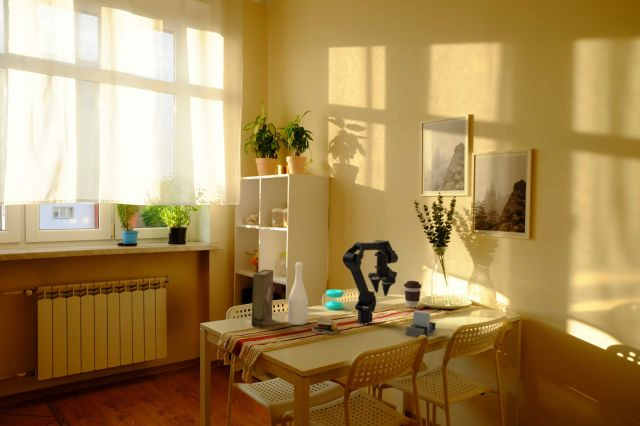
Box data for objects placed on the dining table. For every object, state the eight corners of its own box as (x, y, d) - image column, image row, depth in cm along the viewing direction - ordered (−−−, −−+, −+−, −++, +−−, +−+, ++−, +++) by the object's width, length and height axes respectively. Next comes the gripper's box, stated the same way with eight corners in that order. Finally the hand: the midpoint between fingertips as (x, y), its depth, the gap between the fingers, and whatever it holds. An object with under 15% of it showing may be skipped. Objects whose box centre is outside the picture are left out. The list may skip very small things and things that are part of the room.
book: (262, 318, 259) (263, 269, 259) (272, 319, 258) (274, 270, 257) (251, 326, 243) (253, 274, 242) (262, 327, 242) (264, 274, 241)
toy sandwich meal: (308, 333, 234) (308, 323, 234) (315, 326, 247) (316, 317, 247) (335, 336, 231) (335, 326, 231) (341, 329, 244) (341, 319, 244)
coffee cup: (415, 309, 290) (416, 283, 290) (400, 307, 296) (401, 281, 296) (423, 307, 298) (424, 281, 298) (408, 304, 304) (409, 279, 304)
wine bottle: (304, 326, 247) (306, 264, 246) (285, 324, 248) (287, 263, 248) (308, 321, 256) (310, 262, 255) (290, 320, 258) (292, 261, 257)
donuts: (345, 289, 291) (341, 292, 282) (345, 307, 292) (340, 310, 282) (328, 288, 294) (324, 291, 285) (328, 305, 294) (323, 309, 285)
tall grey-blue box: (412, 330, 241) (413, 311, 240) (415, 329, 243) (416, 310, 243) (427, 332, 237) (427, 313, 237) (429, 331, 240) (430, 312, 239)
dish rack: (405, 335, 236) (405, 326, 236) (418, 327, 249) (418, 319, 249) (423, 338, 231) (424, 329, 231) (436, 331, 245) (436, 322, 245)
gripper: (405, 266, 259) (404, 296, 260) (386, 261, 276) (385, 290, 277) (386, 267, 255) (385, 298, 255) (368, 262, 272) (367, 291, 273)
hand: (381, 294), depth 265 cm, fingers open, 9 cm apart
